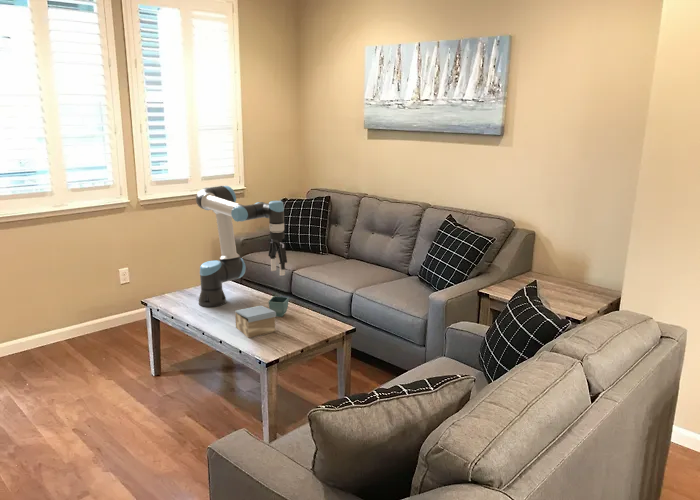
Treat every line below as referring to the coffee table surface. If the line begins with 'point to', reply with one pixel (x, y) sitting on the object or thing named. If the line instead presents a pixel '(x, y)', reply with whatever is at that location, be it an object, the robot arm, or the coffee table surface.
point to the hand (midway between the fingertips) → (278, 272)
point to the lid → (256, 313)
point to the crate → (255, 326)
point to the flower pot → (279, 305)
